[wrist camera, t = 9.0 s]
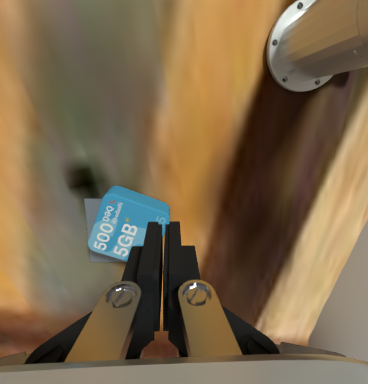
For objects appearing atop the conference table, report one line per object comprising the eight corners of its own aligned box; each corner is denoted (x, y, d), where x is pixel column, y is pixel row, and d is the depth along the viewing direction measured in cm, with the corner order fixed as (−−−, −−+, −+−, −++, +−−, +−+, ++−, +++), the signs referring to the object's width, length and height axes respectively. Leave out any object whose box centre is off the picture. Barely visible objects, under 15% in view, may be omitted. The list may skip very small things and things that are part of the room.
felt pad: (155, 200, 41) (154, 201, 41) (153, 261, 46) (153, 262, 46) (84, 198, 40) (84, 199, 40) (91, 260, 45) (90, 261, 44)
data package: (148, 268, 41) (85, 249, 38) (150, 253, 45) (93, 236, 42) (173, 215, 37) (104, 191, 35) (172, 205, 41) (111, 182, 39)
